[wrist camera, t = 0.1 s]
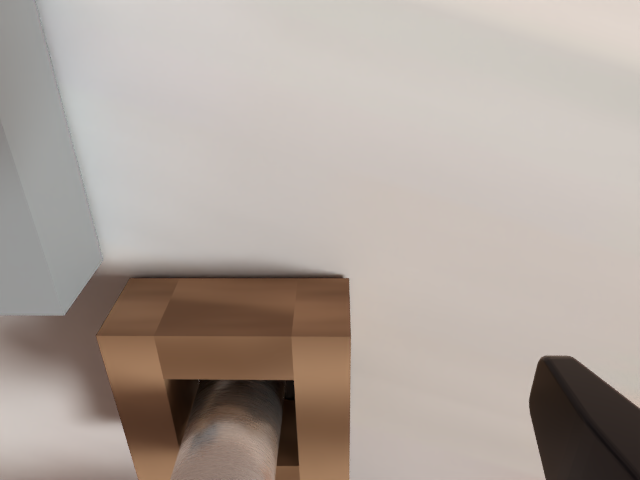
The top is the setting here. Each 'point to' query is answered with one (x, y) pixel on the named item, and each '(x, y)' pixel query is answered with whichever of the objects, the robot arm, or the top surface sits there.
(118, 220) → the top surface
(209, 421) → the lock pin
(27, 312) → the socket block
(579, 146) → the top surface
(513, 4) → the top surface
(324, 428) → the pin mount
